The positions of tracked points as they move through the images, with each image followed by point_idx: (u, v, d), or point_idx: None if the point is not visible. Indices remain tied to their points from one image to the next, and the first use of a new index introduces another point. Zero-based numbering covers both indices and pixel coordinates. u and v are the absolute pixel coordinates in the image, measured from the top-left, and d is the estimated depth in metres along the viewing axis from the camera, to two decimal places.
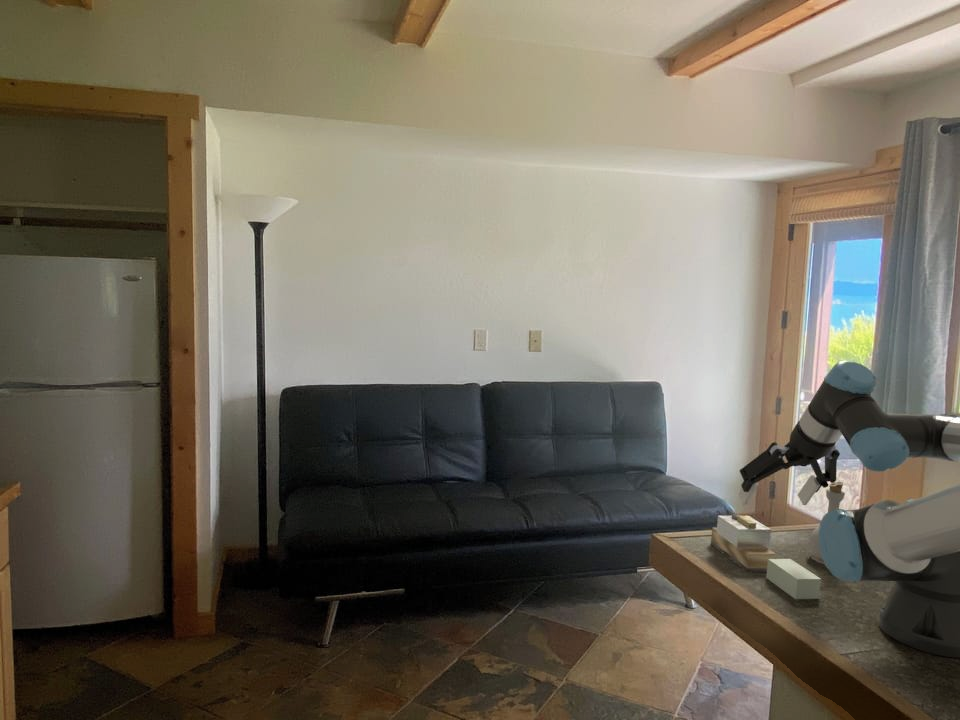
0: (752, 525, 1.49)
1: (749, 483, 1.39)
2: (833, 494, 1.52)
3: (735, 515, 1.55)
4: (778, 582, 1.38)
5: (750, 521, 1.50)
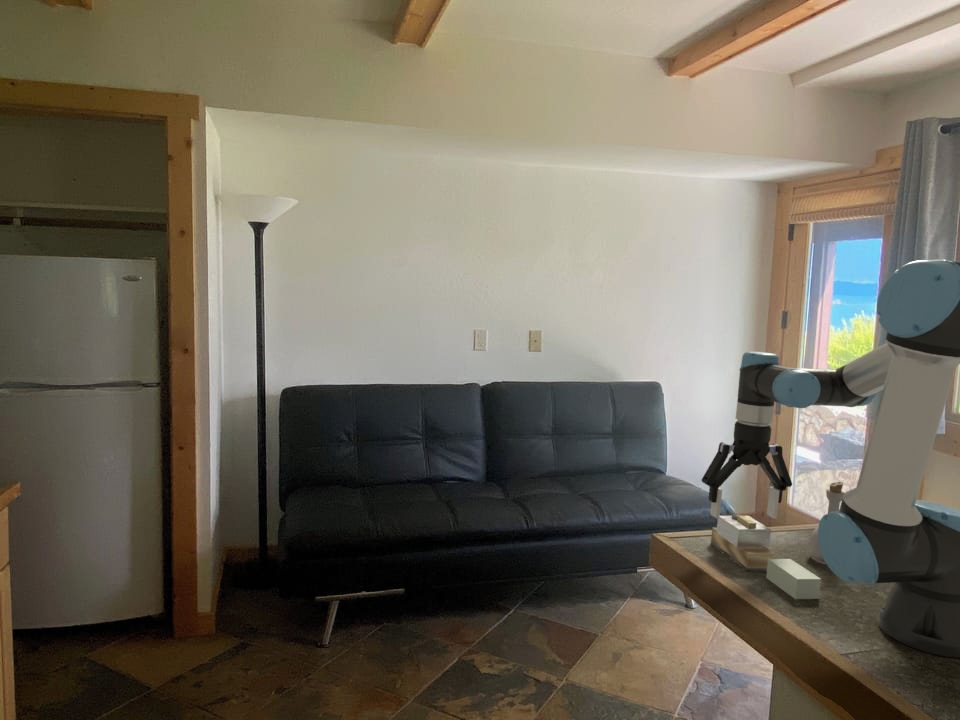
0: (752, 525, 1.49)
1: (713, 490, 1.50)
2: (833, 494, 1.52)
3: (735, 515, 1.55)
4: (778, 582, 1.38)
5: (750, 521, 1.50)
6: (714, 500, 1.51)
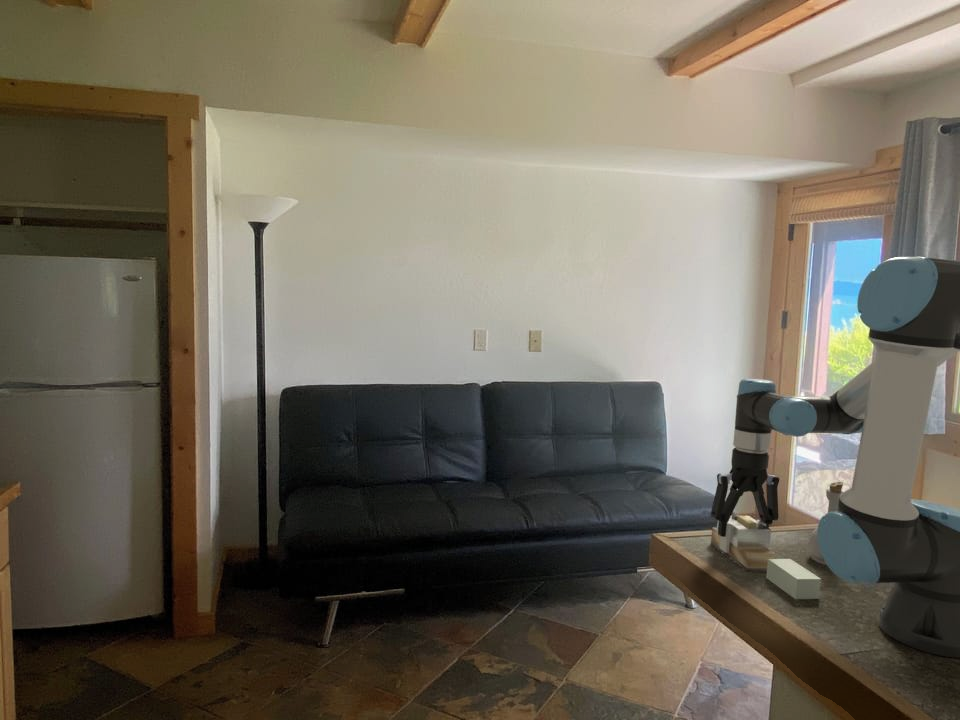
0: (752, 525, 1.49)
1: (722, 524, 1.51)
2: (833, 494, 1.52)
3: (735, 515, 1.55)
4: (778, 582, 1.38)
5: (750, 521, 1.50)
6: (723, 534, 1.51)
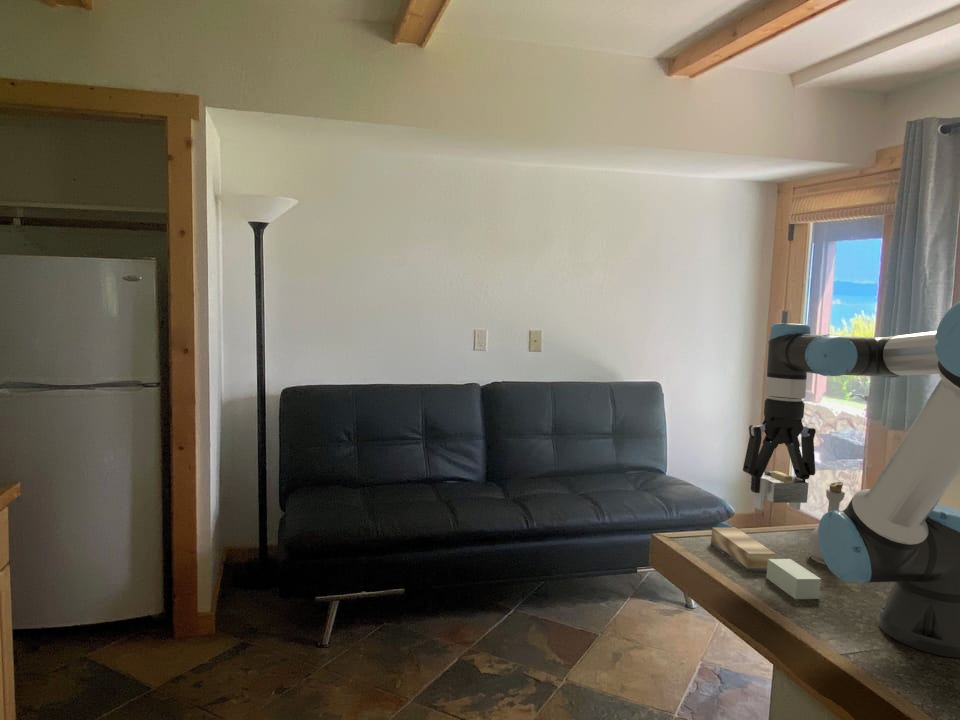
0: (788, 479, 1.39)
1: (756, 479, 1.41)
2: (833, 494, 1.52)
3: (768, 471, 1.45)
4: (778, 582, 1.38)
5: (786, 475, 1.40)
6: (757, 490, 1.41)
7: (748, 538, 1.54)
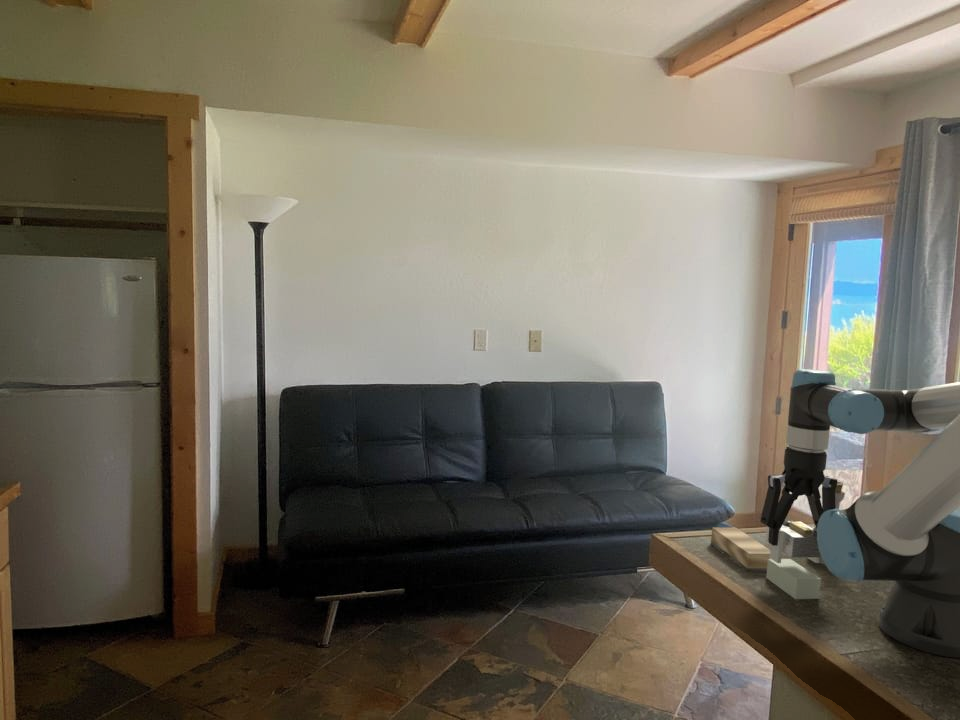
0: (808, 532, 1.34)
1: (774, 532, 1.35)
2: None
3: (787, 521, 1.40)
4: (778, 582, 1.38)
5: (805, 528, 1.35)
6: (775, 543, 1.36)
7: (748, 538, 1.54)
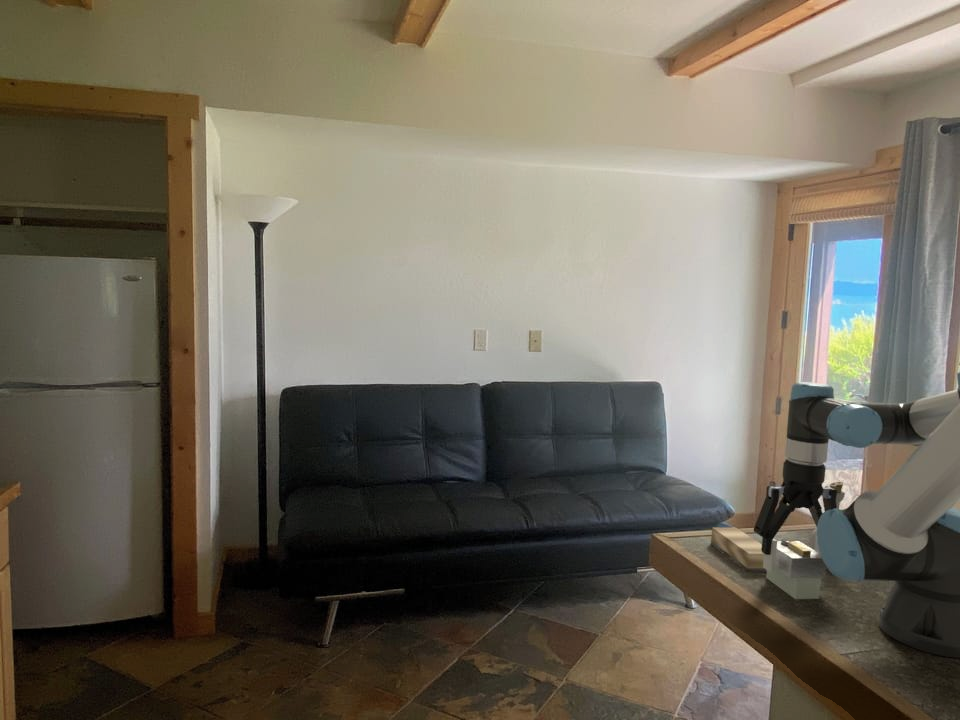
0: (806, 553, 1.34)
1: (767, 541, 1.35)
2: None
3: (785, 541, 1.40)
4: (778, 582, 1.38)
5: (804, 548, 1.35)
6: (768, 552, 1.36)
7: (748, 538, 1.54)
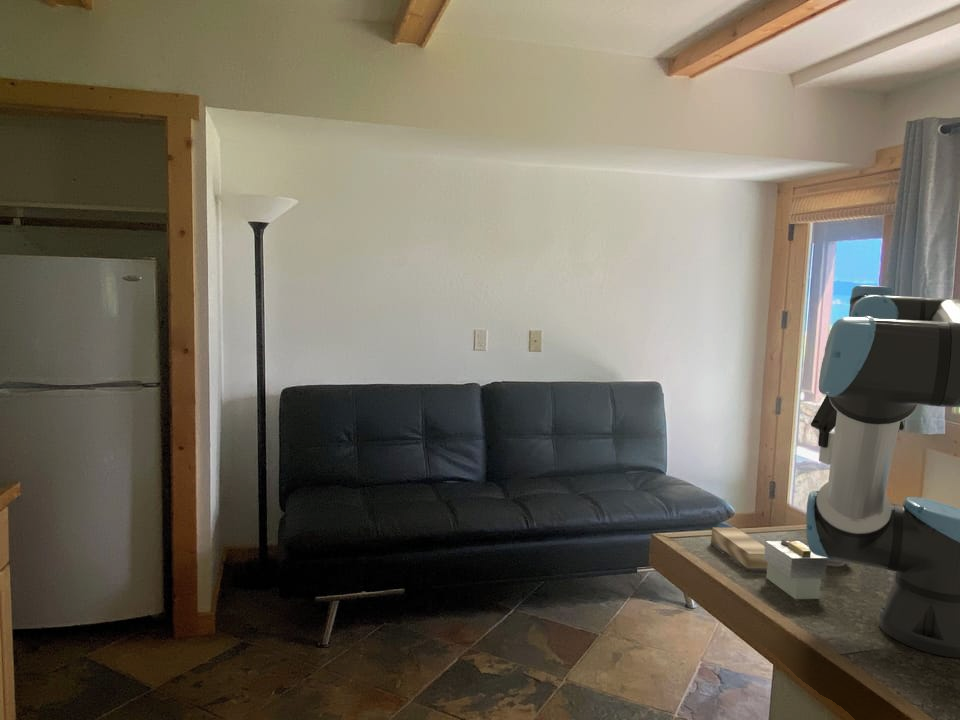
0: (806, 553, 1.34)
1: (825, 434, 1.40)
2: None
3: (785, 541, 1.40)
4: (778, 582, 1.38)
5: (804, 548, 1.35)
6: (825, 445, 1.41)
7: (748, 538, 1.54)
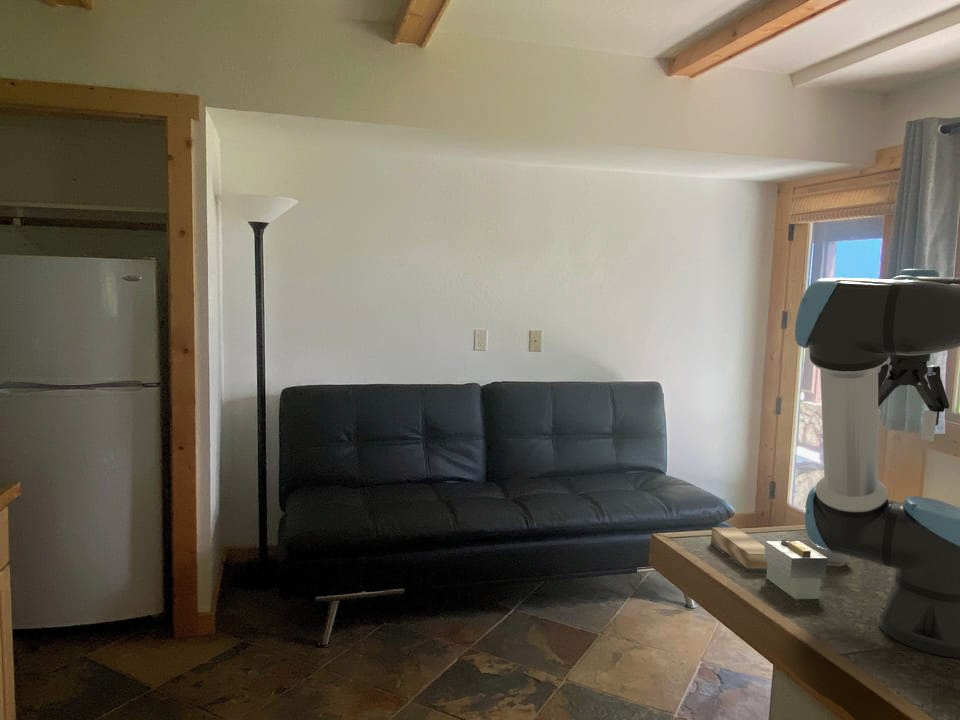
0: (806, 553, 1.34)
1: None
2: None
3: (785, 541, 1.40)
4: (778, 582, 1.38)
5: (804, 548, 1.35)
6: None
7: (748, 538, 1.54)
